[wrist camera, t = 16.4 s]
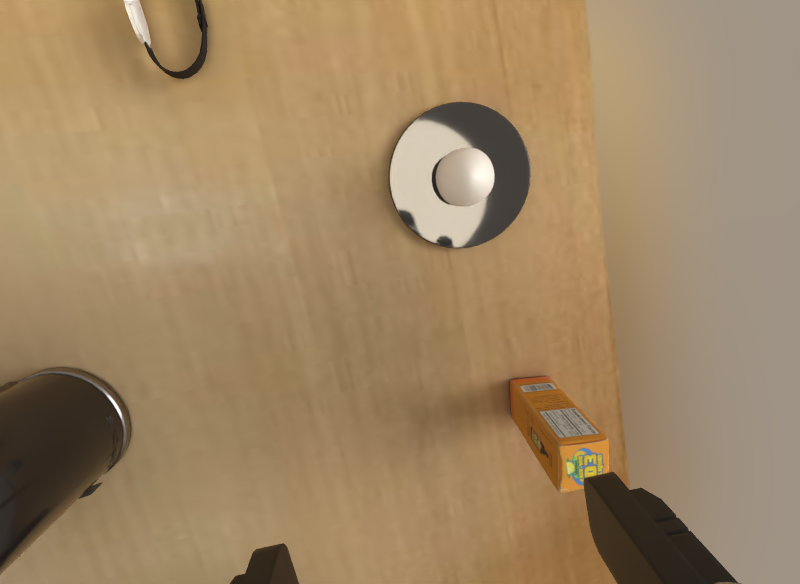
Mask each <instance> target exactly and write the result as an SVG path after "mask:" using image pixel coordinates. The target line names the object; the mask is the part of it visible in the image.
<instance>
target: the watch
mask: <svg viewBox="0 0 800 584" xmlns="http://www.w3.org/2000/svg"><path fill="white" fill-rule="evenodd" d="M195 2H196V7H197V12H198V15H197V19H198V22H199V26H200V29H201V31H202V43H201V48H200V53H199V55H198V57H197V59H196V61H195V62H194V63H193V64H192V66H190V67H189V68H188V69H186V70H184V71H180V72H172V71H169V70H167V69H165V68H164V67H162V66H161V65H160V63H159V62H158V60H157V59H156V57H155V55H154V53H153V51H152V49H151V47H150V44H151V40H150V35H149V30H148V26H147V22H146V19H145V16H144V13H143V10H142V7H141V5H140V2H139V0H124V4H125V7H126V10H127V13H128V16H129V19H130V21H131V24H132V27H133V29H134V32H135V34H136V36H137V38H138V39H139V41H140V43H142V44H145V47H146V49H147V51H148V53H149V55H150V57H151V58H152V60H153V61H154V62H155V63H156V64H157V65H158V66H159V68H160V69H162V70H163V71H164V72H165V73H167V74H168V75H170V76H172V77H175V78H180V79H184V78H189V77H191V76H193V75H194V74H196V73H197V72H198V71H199V70H200V68H201V67H202V65H203V63H204V61H205V57H206V53H207V27H208V26H207V22H206V19H205V14H204V8H203V5H202V1H201V0H199V2H198V0H195Z"/></svg>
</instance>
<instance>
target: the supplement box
mask: <svg viewBox="0 0 800 584" xmlns="http://www.w3.org/2000/svg"><path fill="white" fill-rule="evenodd" d="M510 397H511V415H512V418H513V419H514V421H515V423H516V425H517V426H518V428H519V430H520V431H521V433H522V434H523V436H524V438H525V439H526V441H527V443H528V444H529V446H530V448H531V449H532V451H533V452H534V454H535V456H536V457H537V459H538V461H539V462H540V464H541V465H542V467H543V468H544V470H545V472H546V473H547V475H548V477H549V478H550V480H551V481H552V483H553V484H554V486H555V487H556V489H557V491H558V492H559V493H563V492H568V491H573V490H579V489H584V482H583V481H584V478H586V477H591V476H595V475H600V474H604V473H609V439H608V437H607V436H606V435H605V434H604V433H603V432H602V431H601V430H600V429H599V428H598V427H597V426H596V425H595V424H594V423H593V422H592V421H591V420H590V419H589V418H588V417H587V416H586V415H585V414H584V413H583V412H582V411H581V410H580V409H579V408H578V407H577V406H576V405H575V404H574V402H573V401H572V400H571V399H570V398H569V397H568V396H567V395H566V394H565V393H564V392H563V391H562V390H561V389H560V388H559V387H558V386H557V385H556V384H555V383H554V382H553V381H552V380H551V379H550V378H549V377H548V376H543V377H534V378H524V379H512V380H511V381H510Z"/></svg>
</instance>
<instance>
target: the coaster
mask: <svg viewBox="0 0 800 584" xmlns="http://www.w3.org/2000/svg"><path fill="white" fill-rule="evenodd" d="M461 148H475V149H478V150H480V151H482V152H483V153H485V154H486V155H487V156H488V158H489V159H490V161H491V163H492V165H493V168H494V175H495V176H494V185H493V188H492V190H491V192H490V193H489V194H488V196H487V197H486V198H484V199H483V200H482V201H480V202H478V203H476V204H474V205H471V206H454V205H452V204H449V203H448V202H446V201H445V200H444V199H443V198H442V196H441V195H440V193H439V191H438V188H437V185H436V171H437V167H438V165H439V163H440V161H441V160H442V159H443V158H444V157H445V156H446V155H447V154H449V153H450V152H452V151H454V150H457V149H461ZM389 185H390V192H391V196H392V199H393V202H394V205H395V207H396V209H397V211H398V213H399V215H400V217H401V218H402V219H403V221H404V222H405V223H406V225H407V226H408V227H409V228H410V229H411V230H412V231H413V232H415V233H416V234H417V235H418V236H420V237H422V238H423V239H425V240H427V241H429V242H431V243H433V244H436V245H439V246H443V247H449V248H467V247H472V246H477V245H480V244H482V243H485V242H487V241H489V240H491V239H493V238H495V237H496V236H498V235H499V234H501V233H502V232H503V231H504V230H505V229H506V228H508V227H509V226H510V224H511V223H512V222H513V221H514V220H515V218H516V217H517V215H518V214H519V213H520V211H521V209H522V207H523V205H524V203H525V200H526V197H527V194H528V190H529V186H530V161H529V156H528V152H527V149H526V146H525V144H524V142H523V139H522V138H521V136H520V134H519V133H518V131H517V130H516V129H515V127H514V126H513V125H512V124H511V123H510V122H509V121H508V120H507V119H506V118H505V117H504V116H502V115H501V114H499V113H498V112H496V111H495V110H493V109H491V108H489V107H486V106H483V105H480V104H476V103H470V102H454V103H448V104H443V105H440V106H437V107H435V108H432V109H430V110H429V111H427V112H425V113H423V114H422V115H421V116H419V117H418V118H416V119H415V120H414V121H413V122H412V123H411V124H410V125H409V126H408V127H407V129H406V130H405V131H404V132H403V134H402V135H401V137H400V139H399V140H398V142H397V144H396V147H395V149H394V151H393V155H392V158H391V162H390V168H389Z"/></svg>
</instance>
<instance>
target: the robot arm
mask: <svg viewBox="0 0 800 584" xmlns="http://www.w3.org/2000/svg"><path fill="white" fill-rule="evenodd" d="M130 436H131V424H130V419H129V415H128V412H127V410H126V407H125V405H124V403H123V402H122V400H121V399H120V397H119V396H118V395H117V393H116V392H115V391H114V390H113V389H112V388H111V387H110V386H109V385H107V384H106V383H105V382H103V381H102V380H100V379H99V378H97V377H95V376H93V375H91V374H89V373H86V372H84V371H80V370H76V369H71V368H52V369H47V370H43V371H40V372H37V373H35V374H33V375H31V376H29V377H27V378H25V379H24V380H22V381H20V382H19V383H18V382H9V383H7V384H5V385H3V386H1V387H0V575H1V574H2V573H3V572H4V571H5V570H6V569H7V568H8V567H9V566H10V565H11V564H12V563H13V562H14V561H15V560H16V559H17V558H18V557H19V556H20V555H21V554H22V553H23V552H24V551H25V550H26V549H27V548H28V547H29V546H30V545H31V544H32V543H33V542H34V541H35V540H36V539H37V538H39V537H40V536H41V535H42V534H43V533H44V532H45V531H46V530H47V529H48V528H49V527H50V526H51V525H52V524H53V523H54V522H55V521H56V520H57V519H58V518H59V517H60V516H61V515H62V514H63V513H64V512H65V511H66V510H67V509H68V508H69V507H70V506H71V505H72V504H73V503H74V502H75V501H76V500H77V499H80V498H82V497H85V496H88V495H91V494H92V493H93V492H94V491H95V490H96V489H97V488H98V487H99V486H100V485H101V484H102V483H103V482H102V483H99V484H96V485H93V484H94V483H95V482H96V481H97V480H98V479H99V478H100V477H101V476H102V475H103V474H105V473H106V472H108V471H109V470H110V469H111V468H112V467H113V466H114V465H115V464H116V463H117V462H118V461H119V460H120V459H121V458H122V456H123V455H124V453H125V451H126V450H127V447H128V445H129V441H130ZM583 482H584V491H585V497H586V503H587V510H588V516H589V523H590V529H591V533H592V536H593V539H594V542H595V545H596V547H597V549H598V551H599V553H600V555H601V557H602V558H603V560H604V562H605V563H606V565H607V567H608V568H609V570H610V572H611V573H612V575H613V577H614V578H615V580H616V582H617V583H618V584H740V583H738V582H737V581H736V580H735V579H734V578H733V577H732V576H731V575H730V574H729V573H728V571H727V570H726V569H725V568H724V567H723V566H722V565H721V564H720V563H719V562H718V561H717V559H716V558H715V557H714V556H713V555H712V554H711V553H710V552H709V551H708V550H707V548H706V547H705V546H704V545H703V544H702V543H701V542H700V541H699V540H698V539H697V538H696V537H695V535H694V534H693V533H692V532H691V531H688V528H687V527H686V526H685V524H684V523H683V522H682V521H681V520H680V519H679V518H677V517H676V515H675V514H674V513H673V511H672V510H671V509H670V508H669V507H668V506H667V505H666V504H665V503H664V502H663V501H662V499H660V498H658V497H656V496H654V495H653V494H651V493H649V492H648V491H646V490H644V489H642V488H638V489H633V490H629V489H628V488H627V487H626V486H625V484H624V483H623V482H622V481H621V480H620V478H619V477H618V476H617V475H616V474H615V473H614V472H609V473H604V474H600V475H595V476H591V477H586V478H584V481H583ZM92 485H93V486H92ZM230 584H299V582H298V579H297V576H296V573H295V570H294V567H293V564H292V561H291V557H290V554H289V551H288V548H287V546H286V545H285V544H278V545H273V546H269V547H264V548H260V549H256V550H255V551H254V552H253V554H252V557H251V559H250V562H249V565H248V568H247V570H246V573H245V574H242V575H238V576H235V578H234V579H233V580H232V582H231V583H230Z"/></svg>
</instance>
